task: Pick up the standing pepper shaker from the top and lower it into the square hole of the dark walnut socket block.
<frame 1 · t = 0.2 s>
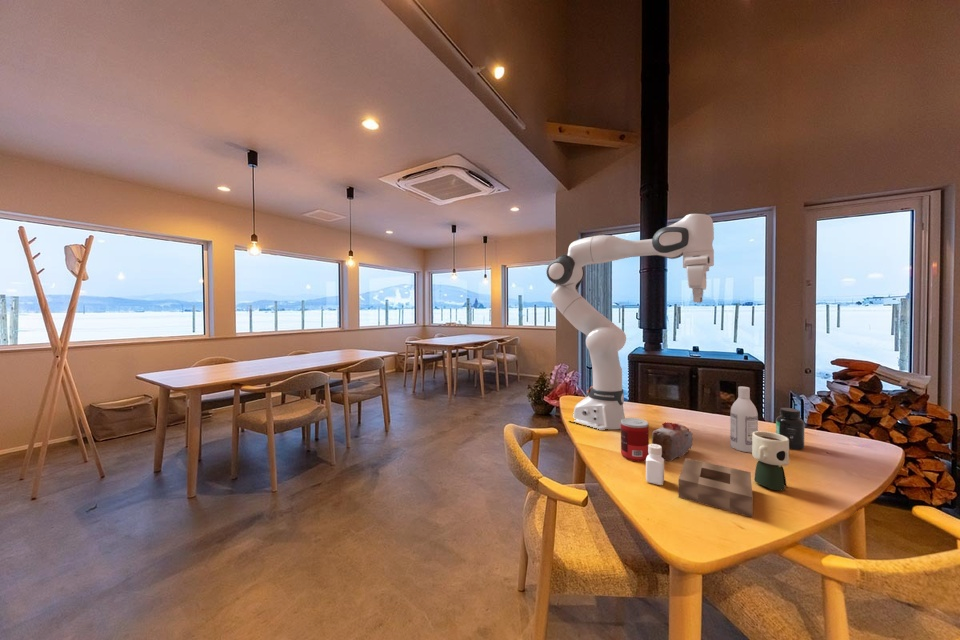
hand: (698, 302, 115), 48 cm above the table, tool pointing down, fingers open, 8 cm apart
canned food: (634, 457, 105), on the table
bath foam: (743, 449, 109), on the table
socket: (715, 493, 83), on the table
pepper shaker: (655, 482, 90), on the table
supplement bottle: (789, 446, 110), on the table
character mug: (770, 487, 86), on the table
food item: (672, 454, 106), on the table
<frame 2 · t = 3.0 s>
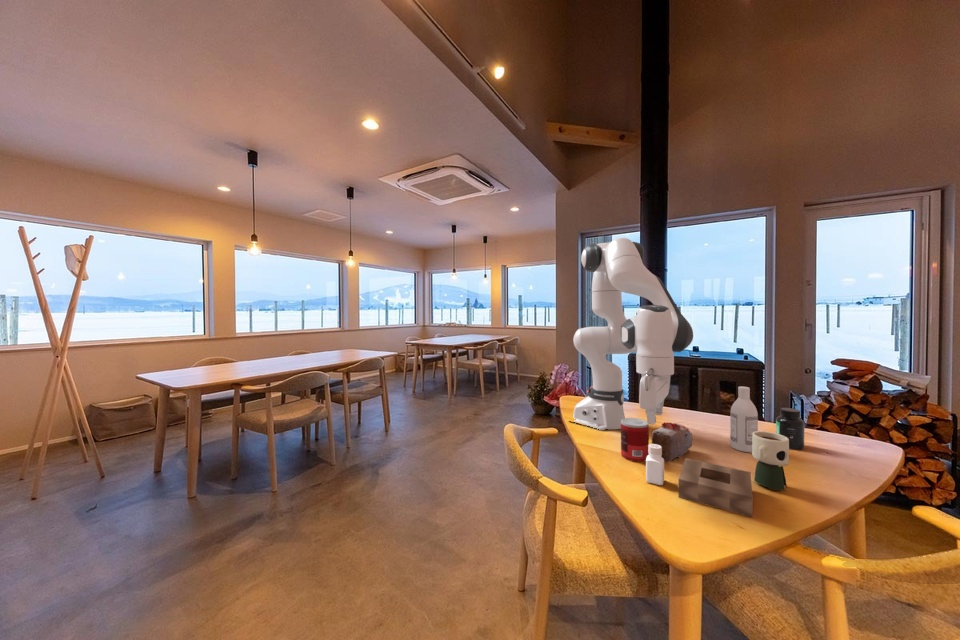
hand: (655, 418, 89), 17 cm above the table, tool pointing down, fingers open, 8 cm apart
nothing on the table moved.
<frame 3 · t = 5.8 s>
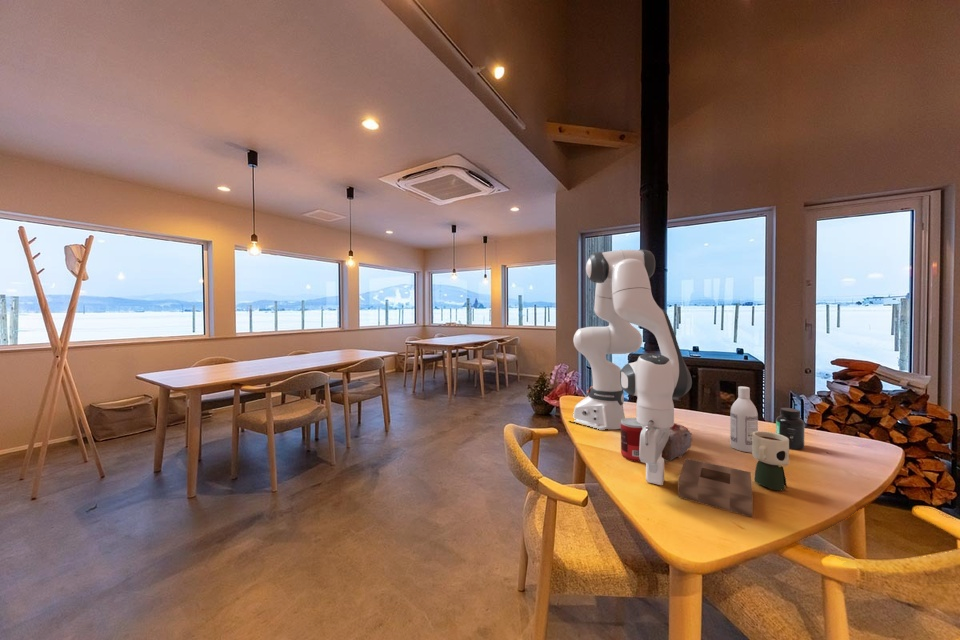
hand: (655, 467, 90), 4 cm above the table, tool pointing down, fingers closed on pepper shaker, 4 cm apart
pepper shaker: (655, 482, 90), on the table, touching gripper
everything else where it was.
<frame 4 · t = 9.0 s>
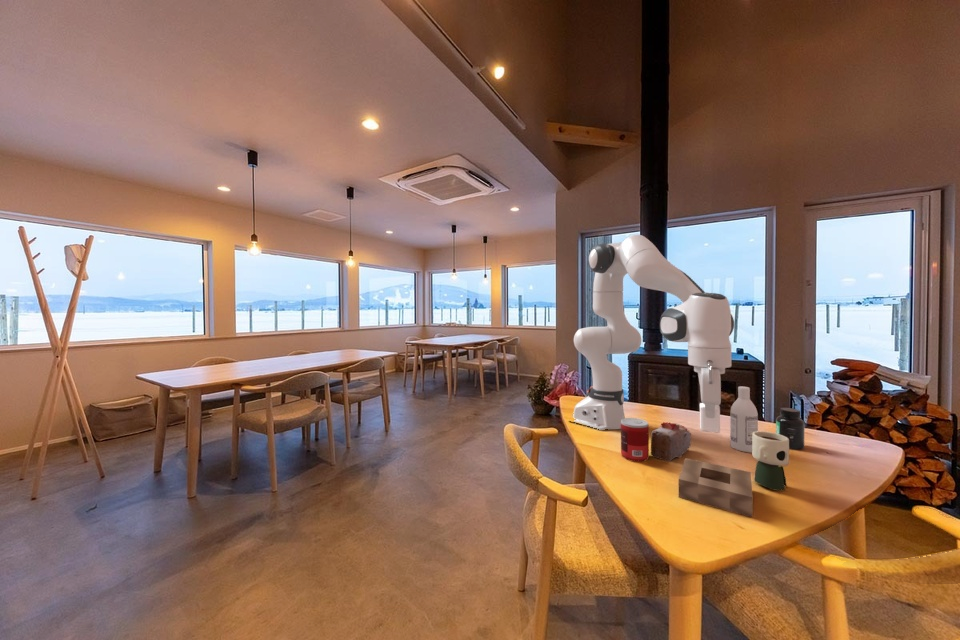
hand: (709, 414, 83), 20 cm above the table, tool pointing down, fingers closed on pepper shaker, 4 cm apart
pepper shaker: (709, 431, 83), point 15 cm above the table, touching gripper
everything else where it was.
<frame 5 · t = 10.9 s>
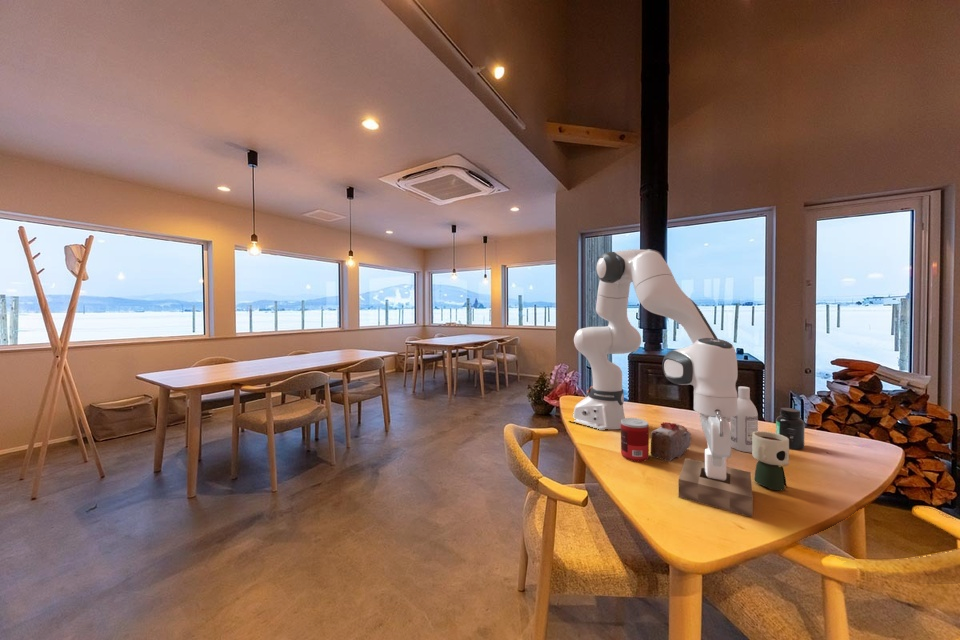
hand: (715, 460, 83), 8 cm above the table, tool pointing down, fingers closed on pepper shaker, 4 cm apart
pepper shaker: (715, 477, 83), point 4 cm above the table, touching gripper
everything else where it was.
when the fingers open (5 cm above the table, at t = 12.2 s): pepper shaker drops 2 cm, resting in socket.
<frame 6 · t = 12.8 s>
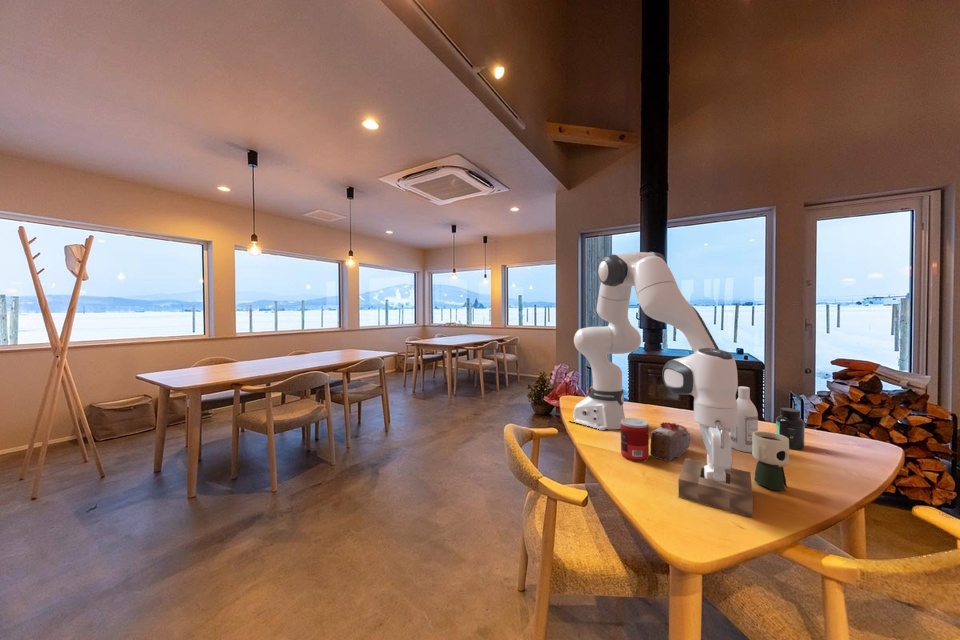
hand: (715, 471, 83), 6 cm above the table, tool pointing down, fingers open, 8 cm apart
pepper shaker: (714, 494, 83), resting in socket
everything else where it was.
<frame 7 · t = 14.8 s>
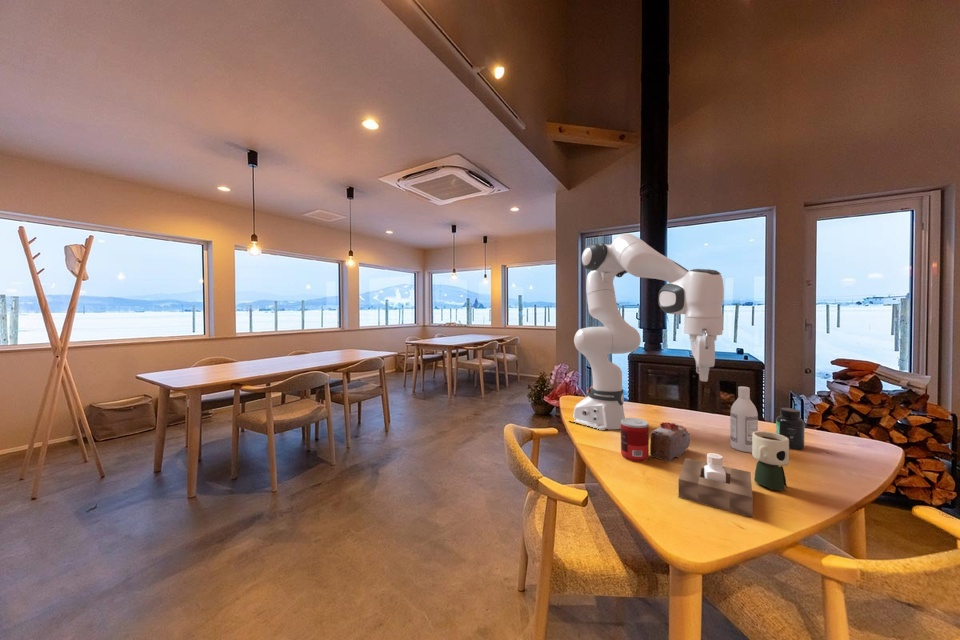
hand: (701, 376, 94), 27 cm above the table, tool pointing down, fingers open, 8 cm apart
nothing on the table moved.
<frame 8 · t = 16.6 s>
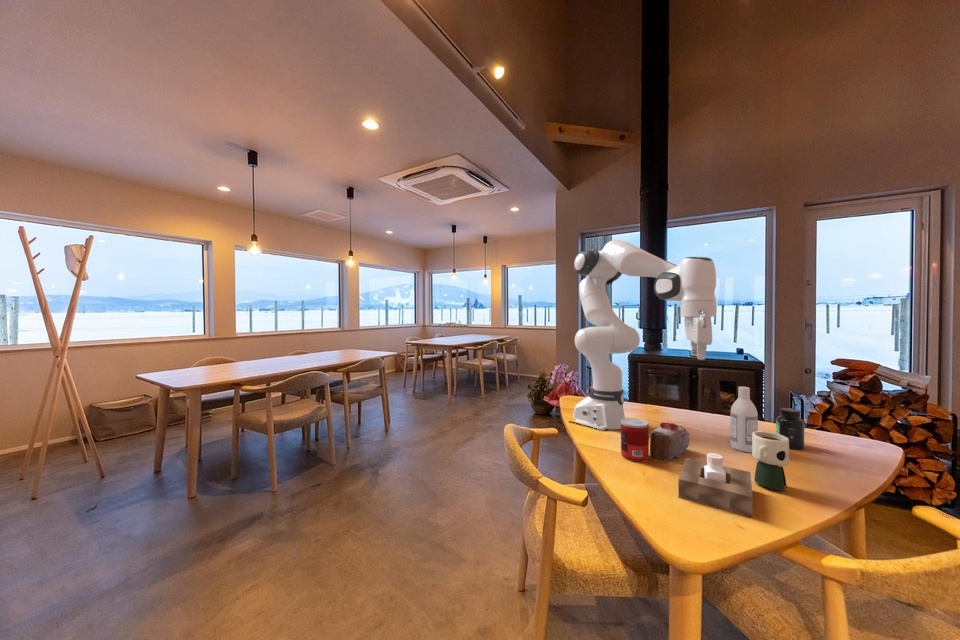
hand: (698, 357, 101), 31 cm above the table, tool pointing down, fingers open, 8 cm apart
nothing on the table moved.
at the end: pepper shaker 0.2 cm off-centre on the socket, point 0.0 cm above the socket's base; pepper shaker tilted 0°; the gripper is holding nothing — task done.
